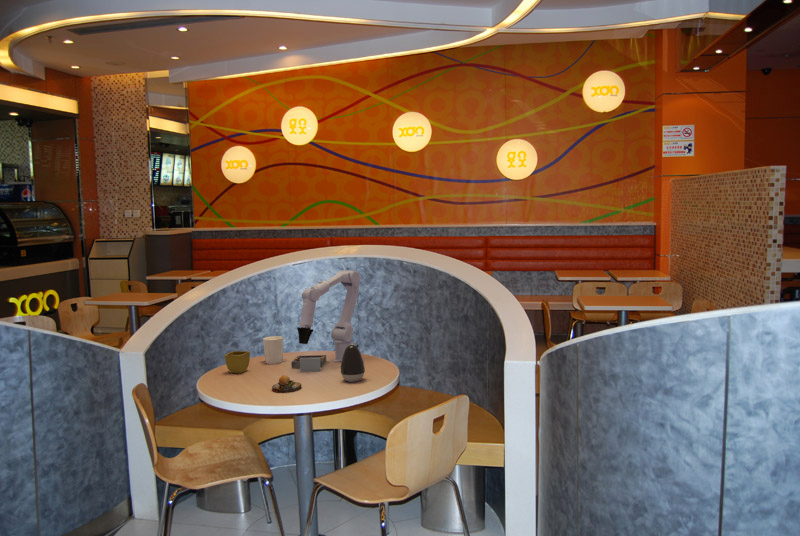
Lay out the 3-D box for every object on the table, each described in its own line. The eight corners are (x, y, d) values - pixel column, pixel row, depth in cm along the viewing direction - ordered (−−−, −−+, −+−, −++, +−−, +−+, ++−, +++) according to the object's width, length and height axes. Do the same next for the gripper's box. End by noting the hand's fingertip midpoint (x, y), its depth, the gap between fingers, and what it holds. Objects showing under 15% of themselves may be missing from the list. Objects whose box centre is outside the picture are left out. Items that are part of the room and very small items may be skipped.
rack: (326, 361, 300) (326, 354, 300) (321, 367, 287) (321, 360, 286) (298, 361, 301) (297, 355, 301) (291, 368, 287) (291, 361, 287)
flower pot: (224, 374, 281) (223, 354, 281) (234, 369, 290) (233, 350, 289) (242, 374, 279) (241, 355, 278) (251, 370, 288) (250, 351, 287)
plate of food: (307, 388, 251) (306, 370, 250) (282, 395, 243) (281, 376, 242) (290, 384, 259) (289, 366, 259) (266, 390, 251) (265, 372, 251)
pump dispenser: (369, 378, 263) (368, 343, 262) (357, 384, 254) (355, 347, 253) (349, 376, 268) (348, 341, 267) (336, 382, 258) (334, 346, 257)
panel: (320, 370, 281) (320, 357, 281) (319, 371, 279) (319, 358, 279) (301, 371, 282) (300, 358, 281) (300, 372, 280) (299, 359, 280)
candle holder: (260, 364, 299) (259, 339, 299) (270, 359, 309) (269, 336, 308) (278, 364, 297) (277, 340, 296) (288, 360, 306) (286, 336, 305)
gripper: (302, 314, 292) (298, 342, 290) (295, 312, 277) (291, 342, 276) (317, 316, 291) (312, 344, 289) (311, 314, 277) (306, 344, 275)
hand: (303, 343), depth 282 cm, fingers open, 7 cm apart
